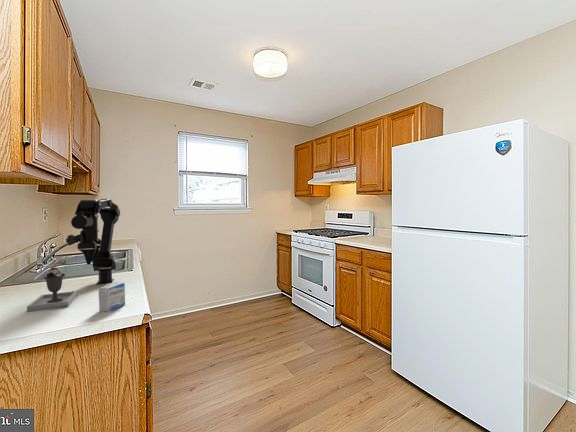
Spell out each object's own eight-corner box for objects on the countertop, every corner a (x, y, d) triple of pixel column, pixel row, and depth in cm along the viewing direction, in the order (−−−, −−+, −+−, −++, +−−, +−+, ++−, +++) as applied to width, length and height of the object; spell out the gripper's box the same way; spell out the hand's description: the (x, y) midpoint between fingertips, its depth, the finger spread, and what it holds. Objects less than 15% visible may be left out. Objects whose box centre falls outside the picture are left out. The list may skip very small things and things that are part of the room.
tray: (41, 299, 117) (41, 294, 117) (77, 295, 122) (77, 290, 122) (27, 311, 103) (26, 306, 103) (68, 306, 108) (67, 301, 108)
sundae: (59, 297, 117) (57, 261, 116) (69, 299, 114) (68, 262, 114) (40, 302, 111) (38, 264, 110) (50, 304, 108) (49, 265, 108)
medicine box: (109, 312, 103) (108, 288, 102) (98, 311, 104) (98, 287, 103) (125, 304, 111) (125, 282, 110) (115, 304, 111) (115, 282, 111)
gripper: (72, 227, 132) (73, 261, 132) (61, 229, 115) (62, 268, 115) (101, 226, 136) (101, 259, 137) (94, 228, 120) (95, 265, 120)
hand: (90, 262), depth 127 cm, fingers open, 9 cm apart
